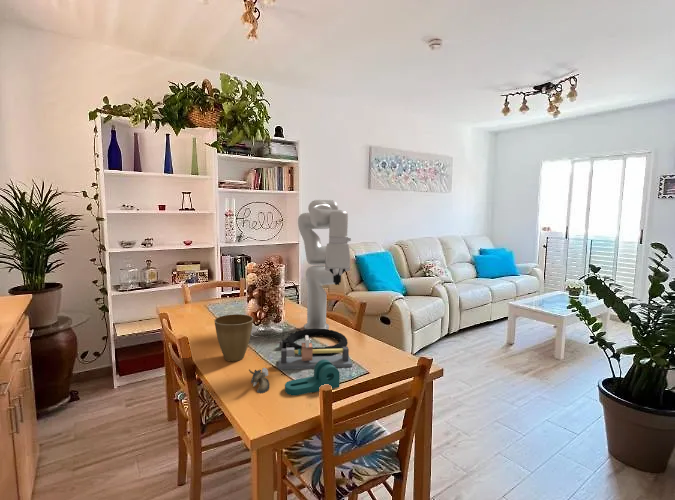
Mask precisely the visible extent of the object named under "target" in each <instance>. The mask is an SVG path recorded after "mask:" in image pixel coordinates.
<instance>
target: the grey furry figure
mask: <svg viewBox="0 0 675 500" xmlns="http://www.w3.org/2000/svg"><path fill="white" fill-rule="evenodd" d="M248 371H249V373H251V374H252V377H251V381H250V383H251V384H252V388H255V387H256V386H257V384H258V387H257V389H256V392H257V393H259V394H264V393H266V392H269V390H270V381H269V379H268V378H267V376H269V370H268V368H267V367H262V369H258V370H256V369H254V371H252V370H251V369H248Z"/></svg>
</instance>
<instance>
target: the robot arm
mask: <svg viewBox="0 0 675 500" xmlns="http://www.w3.org/2000/svg"><path fill="white" fill-rule="evenodd" d="M307 211H308V212H303V213H301V214H300V215H299V216H298V219H297V224H298V225H297V226H298V231H299V233H300V236H301V237H302V240H303V246H304V250H305V251H304V253H305V258H306V262H307V263H308V264H309V265H310V267H308V268H307V269H306V271H305V278H306V290H307V292H306V293H307V297H306V298H307V302H306V303H307V305H306V308H307V310H306V311H307V313H306V315H307V316H306V321H307V322H306V323H305V324H304V325H303V330H304V329H328V330H330V329H329V328H330V324H328V323H327V292H326V290H325V289H324V287H322V286H324V285H325V286H326V285H327V286H328V285H334V286H337V285H338V286H340V283H341V282H342V276H343V274H344V273H345V272H348V271H351V252H350V246H349V245H350V244H349V242H351V241H352V239H351V238H350V237H348V226H349V225H348V224H349V223H348V221H349V215H348V212H347V211H345V210H341V209H339V205H338V203H337V202H336V201H335V200H331V199H329V200H328V199H315V200H312V201H311V202H310V203H309V204H308V210H307ZM327 229H329V232H328V243H326V246H325V245H322V243H321V238H320V235H318V233H316V232H315V231H314V230H327ZM311 265H312V266H311Z"/></svg>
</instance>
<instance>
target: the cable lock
mask: <svg viewBox="0 0 675 500" xmlns="http://www.w3.org/2000/svg"><path fill="white" fill-rule="evenodd" d="M305 335H308V337H324V338H330V339H333V340H337V341H338V342H337V343H336V344H334V345H328V346H322V347H319V346H318V347H313V349H340V348H342V347H348V339H347V337H346V336H345V335H344V334H343V333H341V332H339V331H335V330H332V329H304V328H303V329H300V330H297V331H294V332H292V333H289V334H288V336H287V337H285V338H284V339H281V340H280V341H279V348H280V350H281V348H294V350H298V349H301V350H302V344H301V345H300V344H297V343H296V342H295V341H297V340H299V339H301V338H305ZM333 355H336V353H315V354H313V355H312V357H319V356H333Z"/></svg>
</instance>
